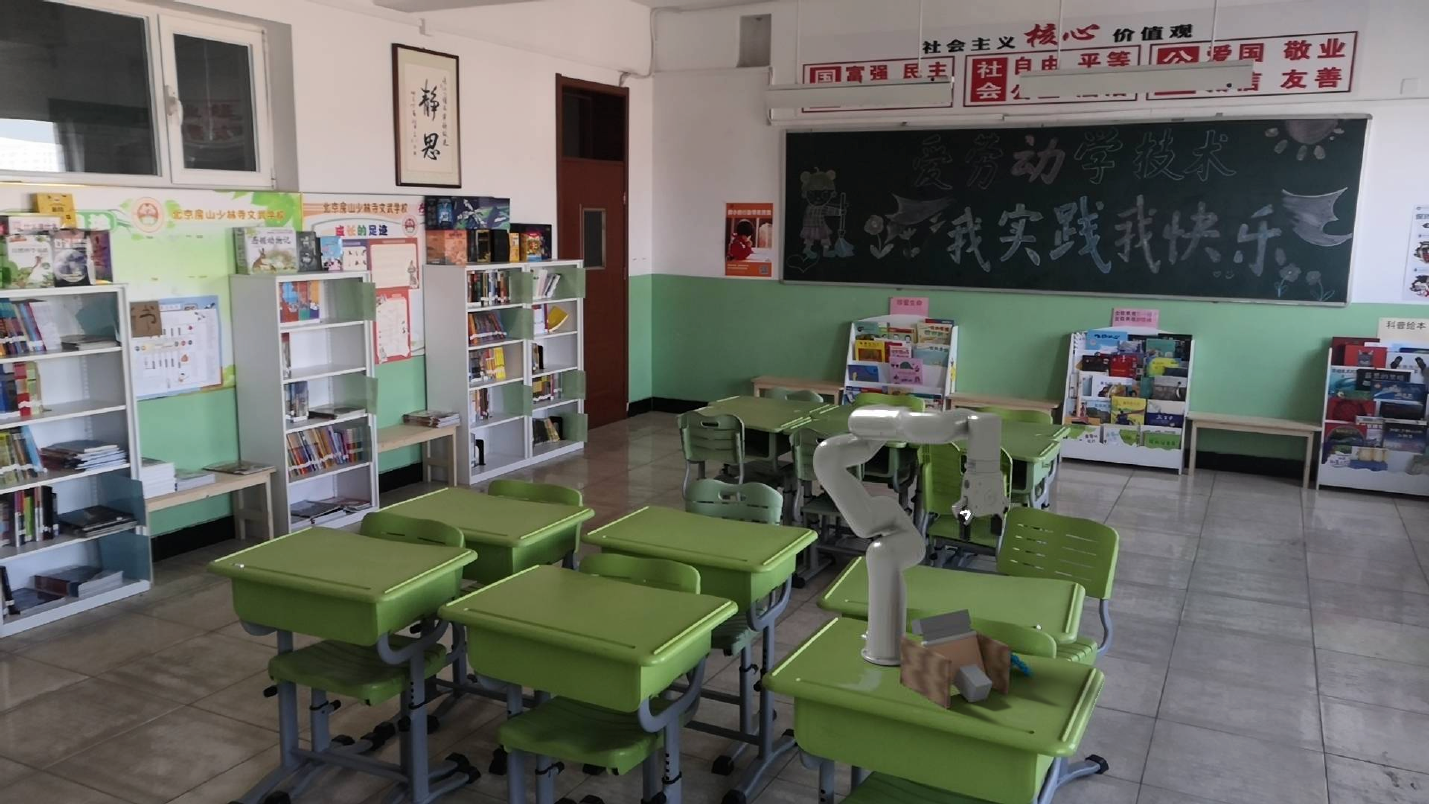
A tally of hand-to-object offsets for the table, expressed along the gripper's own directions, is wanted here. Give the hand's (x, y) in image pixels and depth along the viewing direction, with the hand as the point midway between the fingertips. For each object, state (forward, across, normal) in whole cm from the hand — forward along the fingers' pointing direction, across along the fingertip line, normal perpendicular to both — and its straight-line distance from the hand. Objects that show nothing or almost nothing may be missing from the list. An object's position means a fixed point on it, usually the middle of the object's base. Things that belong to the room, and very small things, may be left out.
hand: (980, 537), depth 248 cm
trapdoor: (+28, -6, +5) cm, 29 cm away
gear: (+37, +13, 0) cm, 39 cm away
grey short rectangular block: (+33, -6, -6) cm, 34 cm away
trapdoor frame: (+36, -6, +1) cm, 37 cm away
